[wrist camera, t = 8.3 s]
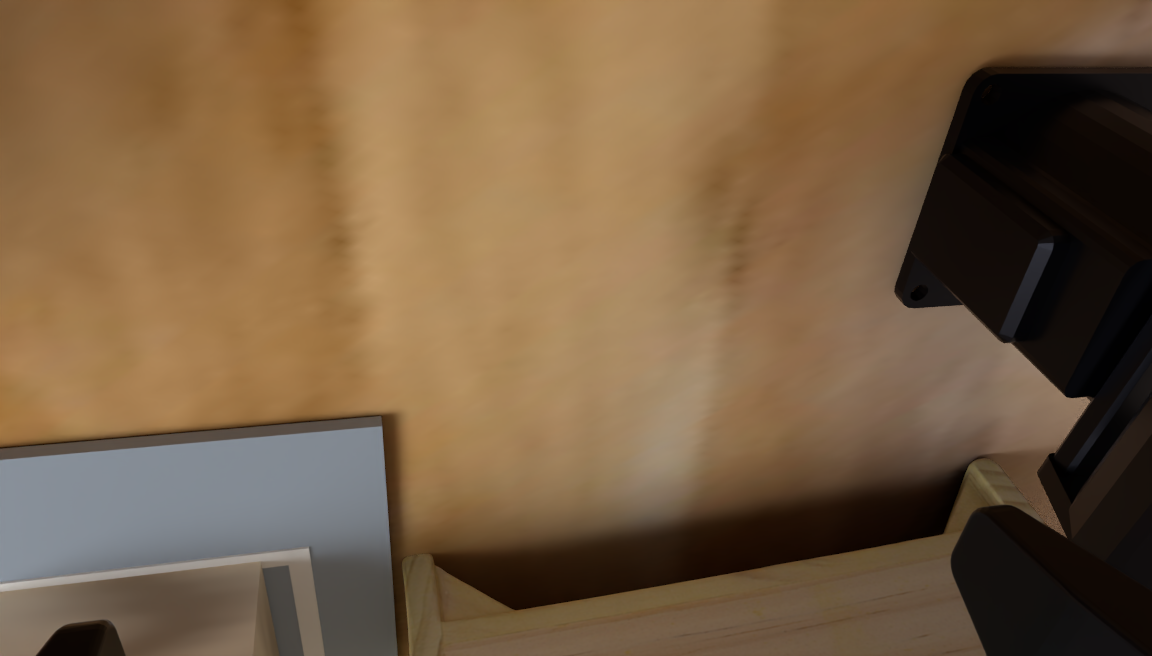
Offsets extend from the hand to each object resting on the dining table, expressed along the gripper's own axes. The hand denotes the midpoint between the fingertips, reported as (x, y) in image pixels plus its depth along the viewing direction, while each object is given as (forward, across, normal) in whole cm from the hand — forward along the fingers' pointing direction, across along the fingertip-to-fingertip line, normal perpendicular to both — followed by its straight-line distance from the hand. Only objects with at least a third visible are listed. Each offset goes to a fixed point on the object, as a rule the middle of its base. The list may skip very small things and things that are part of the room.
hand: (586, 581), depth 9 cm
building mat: (+12, +9, +15) cm, 21 cm away
